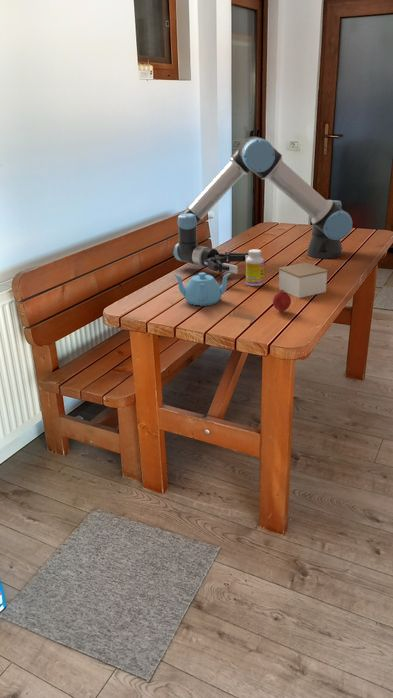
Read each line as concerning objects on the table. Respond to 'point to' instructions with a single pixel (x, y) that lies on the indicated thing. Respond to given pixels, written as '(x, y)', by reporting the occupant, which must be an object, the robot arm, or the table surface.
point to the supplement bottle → (254, 268)
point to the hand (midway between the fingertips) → (248, 265)
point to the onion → (281, 301)
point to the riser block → (302, 279)
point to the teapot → (202, 289)
